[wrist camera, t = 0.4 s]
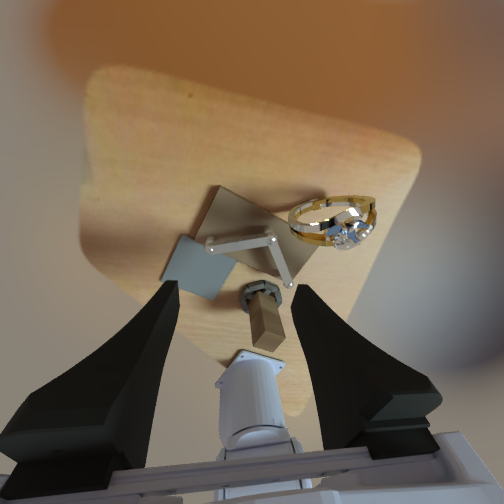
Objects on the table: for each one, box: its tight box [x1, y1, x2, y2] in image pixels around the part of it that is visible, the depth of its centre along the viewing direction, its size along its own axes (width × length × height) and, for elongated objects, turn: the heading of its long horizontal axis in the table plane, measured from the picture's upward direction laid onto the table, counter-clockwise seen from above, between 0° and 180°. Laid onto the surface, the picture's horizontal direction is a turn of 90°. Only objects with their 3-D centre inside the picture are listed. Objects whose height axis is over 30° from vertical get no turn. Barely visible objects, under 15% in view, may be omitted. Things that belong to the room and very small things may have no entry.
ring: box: [288, 195, 377, 250], centre depth 18 cm, size 7×3×8 cm, turn 102°
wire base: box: [194, 185, 318, 280], centre depth 22 cm, size 6×12×1 cm, turn 60°
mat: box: [161, 234, 238, 300], centre depth 24 cm, size 6×6×1 cm
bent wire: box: [204, 225, 294, 288], centre depth 21 cm, size 5×10×4 cm, turn 60°
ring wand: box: [239, 280, 286, 352], centre depth 24 cm, size 5×5×7 cm
